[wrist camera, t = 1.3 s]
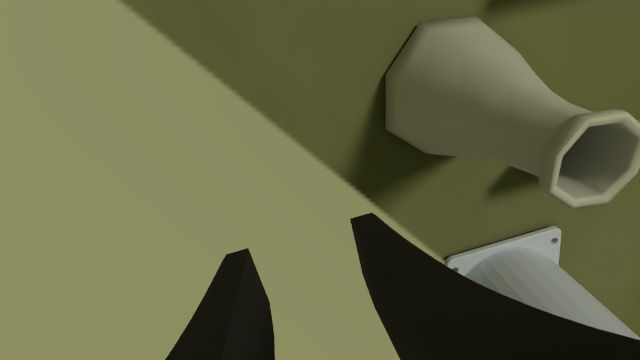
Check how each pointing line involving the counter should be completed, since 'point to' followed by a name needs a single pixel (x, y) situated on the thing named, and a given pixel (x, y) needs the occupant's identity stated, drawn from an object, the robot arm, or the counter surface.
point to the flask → (505, 114)
